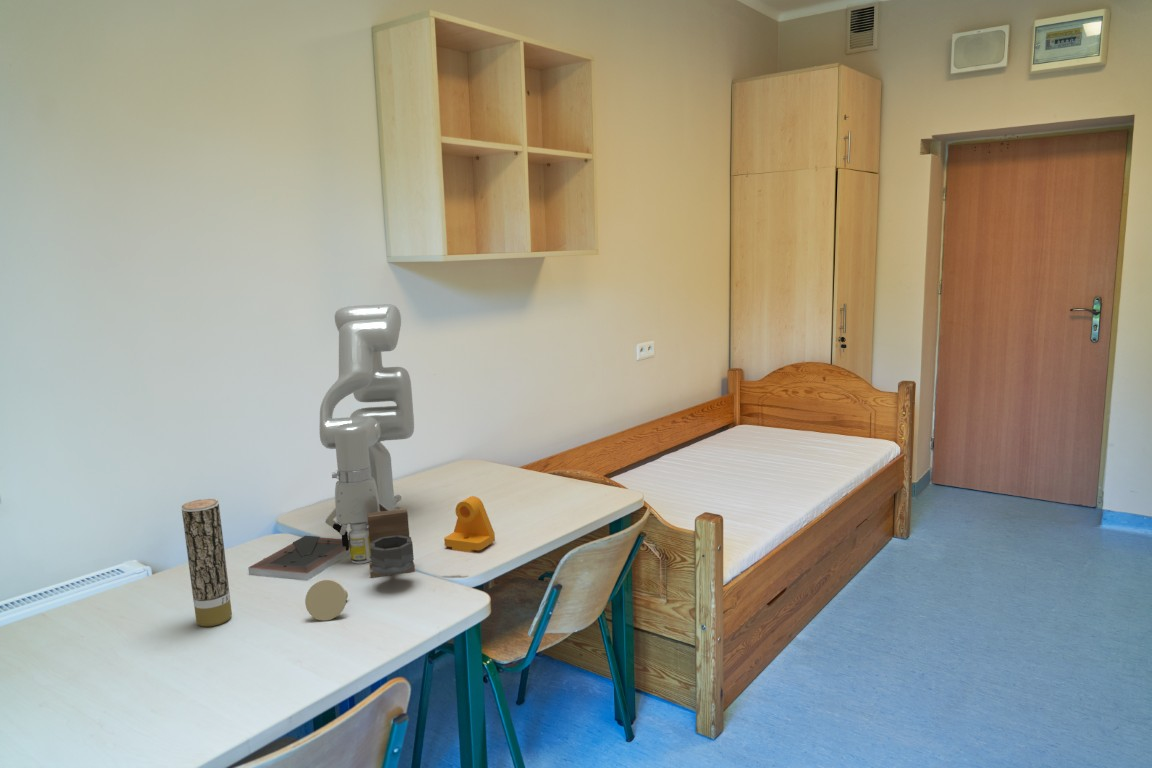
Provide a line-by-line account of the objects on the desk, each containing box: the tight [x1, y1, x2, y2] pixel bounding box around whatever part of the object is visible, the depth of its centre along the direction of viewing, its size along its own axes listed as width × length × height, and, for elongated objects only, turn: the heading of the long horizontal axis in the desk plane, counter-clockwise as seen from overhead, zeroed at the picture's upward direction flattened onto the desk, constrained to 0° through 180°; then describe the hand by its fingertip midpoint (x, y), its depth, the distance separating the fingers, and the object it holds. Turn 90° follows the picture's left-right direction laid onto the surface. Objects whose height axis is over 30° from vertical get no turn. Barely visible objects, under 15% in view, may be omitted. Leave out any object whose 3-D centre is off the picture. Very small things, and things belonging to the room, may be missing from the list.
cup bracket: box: [367, 508, 416, 578], centre depth 182 cm, size 17×10×14 cm, turn 16°
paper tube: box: [181, 498, 233, 627], centre depth 163 cm, size 7×7×25 cm
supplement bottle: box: [348, 522, 371, 565], centre depth 194 cm, size 5×5×10 cm
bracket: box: [443, 495, 496, 553], centre depth 201 cm, size 11×7×12 cm, turn 66°
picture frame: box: [247, 535, 350, 581], centre depth 197 cm, size 16×2×22 cm
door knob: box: [304, 579, 349, 621], centre depth 168 cm, size 10×8×8 cm
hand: (361, 546), depth 195 cm, fingers open, 5 cm apart
